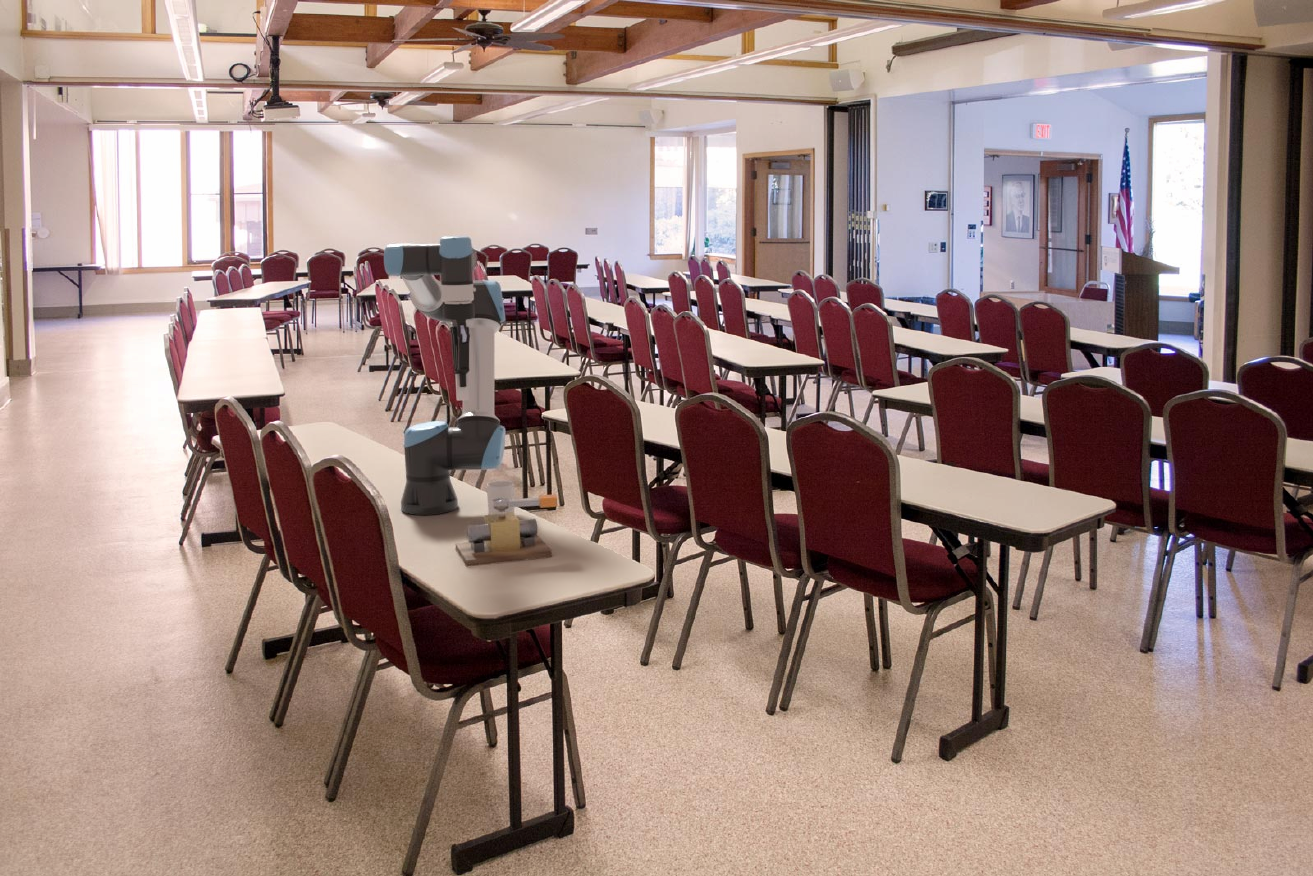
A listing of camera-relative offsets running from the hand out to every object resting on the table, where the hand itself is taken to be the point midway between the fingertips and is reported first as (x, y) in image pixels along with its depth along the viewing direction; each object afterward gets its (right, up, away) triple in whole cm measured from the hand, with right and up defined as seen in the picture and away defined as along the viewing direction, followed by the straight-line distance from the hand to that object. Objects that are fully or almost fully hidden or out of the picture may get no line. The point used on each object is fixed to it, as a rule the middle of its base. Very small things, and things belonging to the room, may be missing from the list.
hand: (462, 399), depth 273 cm
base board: (+11, -37, -7) cm, 39 cm away
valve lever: (+16, -26, -8) cm, 31 cm away
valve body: (+11, -35, -7) cm, 37 cm away
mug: (+7, -32, +14) cm, 36 cm away
